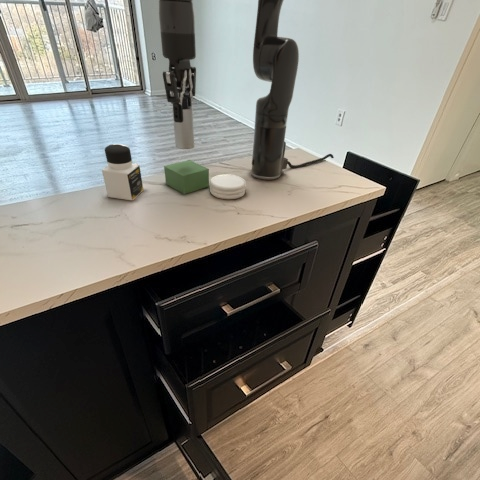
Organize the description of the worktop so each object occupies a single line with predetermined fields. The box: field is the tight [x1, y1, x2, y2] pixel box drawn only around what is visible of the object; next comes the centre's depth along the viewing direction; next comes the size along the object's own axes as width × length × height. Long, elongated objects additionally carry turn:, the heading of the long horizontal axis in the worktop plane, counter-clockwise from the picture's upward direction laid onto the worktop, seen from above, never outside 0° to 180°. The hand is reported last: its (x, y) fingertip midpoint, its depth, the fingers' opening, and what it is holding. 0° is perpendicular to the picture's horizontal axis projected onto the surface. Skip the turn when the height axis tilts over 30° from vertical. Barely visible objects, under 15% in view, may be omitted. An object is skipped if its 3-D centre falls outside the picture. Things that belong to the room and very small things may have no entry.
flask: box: [171, 96, 195, 150], centre depth 82 cm, size 5×5×11 cm
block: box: [163, 159, 210, 195], centre depth 91 cm, size 9×9×5 cm
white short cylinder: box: [209, 173, 247, 200], centre depth 90 cm, size 10×10×4 cm
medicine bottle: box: [101, 143, 144, 201], centre depth 83 cm, size 7×7×12 cm
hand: (183, 119), depth 81 cm, fingers closed on flask, 5 cm apart
